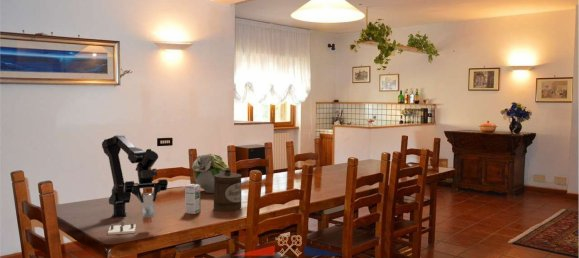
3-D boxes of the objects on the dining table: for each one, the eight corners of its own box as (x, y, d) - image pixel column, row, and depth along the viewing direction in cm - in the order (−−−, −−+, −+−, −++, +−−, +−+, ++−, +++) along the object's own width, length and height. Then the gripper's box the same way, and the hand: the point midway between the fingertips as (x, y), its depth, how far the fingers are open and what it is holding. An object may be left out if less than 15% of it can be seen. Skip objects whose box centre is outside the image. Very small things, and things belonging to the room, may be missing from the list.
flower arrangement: (184, 194, 292) (184, 154, 290) (203, 187, 315) (203, 150, 314) (221, 197, 284) (221, 156, 283) (237, 189, 308) (237, 152, 307)
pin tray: (110, 228, 213) (110, 221, 213) (135, 226, 216) (135, 220, 216) (107, 234, 203) (107, 227, 203) (134, 233, 206) (134, 226, 206)
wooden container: (232, 212, 246) (232, 170, 244) (208, 209, 252) (208, 168, 251) (246, 206, 259) (246, 167, 258) (223, 204, 265) (223, 165, 264)
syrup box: (194, 214, 241) (194, 186, 240) (184, 213, 243) (184, 185, 242) (200, 211, 246) (200, 184, 245) (191, 210, 248) (191, 183, 247)
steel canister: (141, 215, 213) (141, 193, 212) (153, 214, 214) (153, 192, 214) (141, 218, 208) (141, 195, 207) (153, 217, 210) (153, 195, 209)
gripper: (124, 163, 209) (127, 192, 200) (167, 161, 217) (172, 189, 208) (122, 178, 217) (125, 207, 208) (163, 176, 225) (168, 203, 216)
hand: (148, 201), depth 210 cm, fingers closed on steel canister, 5 cm apart
